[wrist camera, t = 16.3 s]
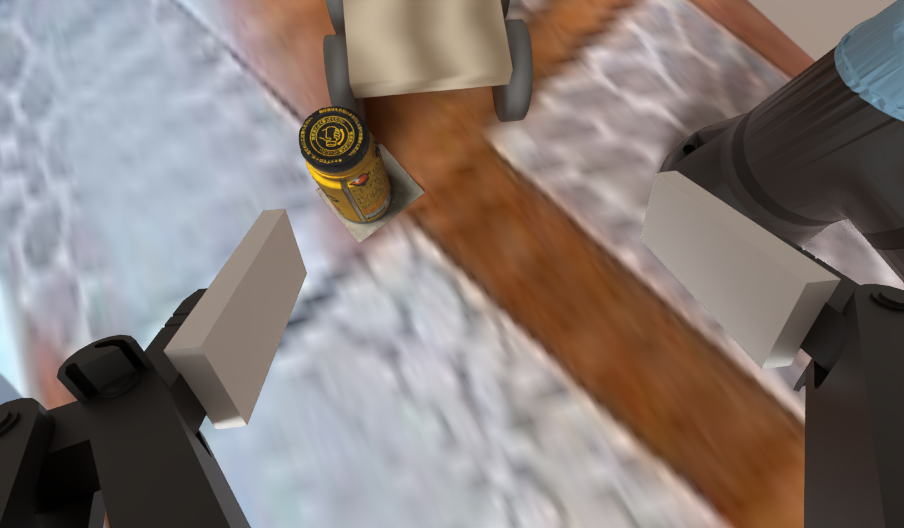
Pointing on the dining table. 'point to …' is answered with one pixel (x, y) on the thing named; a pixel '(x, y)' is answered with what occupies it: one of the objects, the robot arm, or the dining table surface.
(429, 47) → the trolley
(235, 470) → the dining table surface
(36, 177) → the dining table surface
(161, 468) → the robot arm
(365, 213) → the condiment
